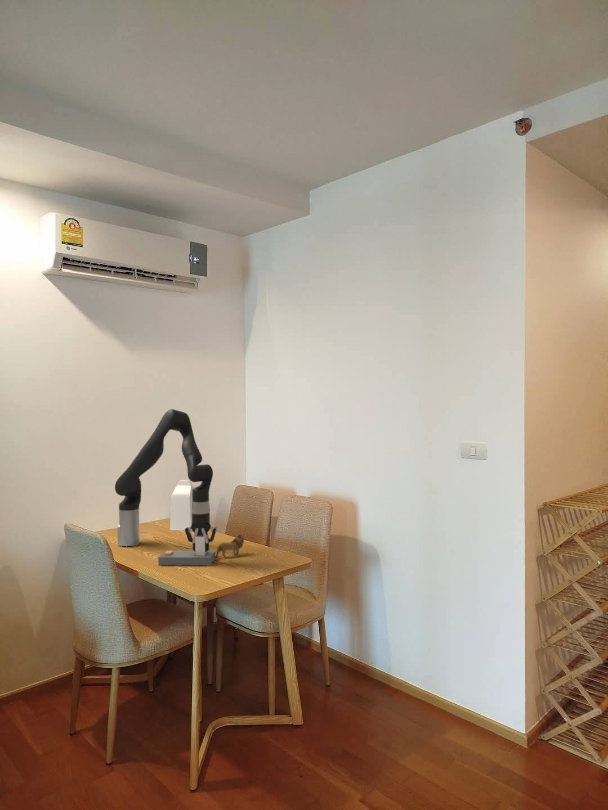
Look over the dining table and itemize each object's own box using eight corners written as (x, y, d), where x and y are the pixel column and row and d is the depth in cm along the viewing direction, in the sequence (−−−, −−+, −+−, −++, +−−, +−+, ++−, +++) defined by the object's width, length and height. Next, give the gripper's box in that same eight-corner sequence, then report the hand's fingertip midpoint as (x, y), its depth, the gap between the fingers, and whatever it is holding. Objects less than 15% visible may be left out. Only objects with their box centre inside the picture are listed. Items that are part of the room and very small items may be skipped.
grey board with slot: (158, 565, 226) (158, 555, 226) (165, 558, 236) (165, 548, 236) (210, 565, 225) (210, 555, 225) (215, 558, 235) (215, 548, 235)
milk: (169, 530, 286) (169, 481, 285) (179, 525, 297) (179, 478, 296) (190, 531, 283) (190, 482, 282) (199, 526, 294) (199, 479, 294)
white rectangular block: (195, 557, 228) (195, 536, 228) (197, 555, 232) (197, 534, 232) (204, 558, 228) (204, 536, 228) (206, 555, 232) (206, 534, 232)
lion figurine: (240, 551, 245) (240, 532, 245) (246, 554, 241) (246, 534, 241) (212, 558, 236) (211, 537, 236) (218, 561, 232) (217, 540, 231)
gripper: (181, 513, 226) (182, 553, 227) (215, 513, 226) (215, 554, 226) (186, 509, 234) (186, 548, 234) (218, 509, 233) (219, 549, 234)
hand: (201, 551), depth 230 cm, fingers open, 4 cm apart
